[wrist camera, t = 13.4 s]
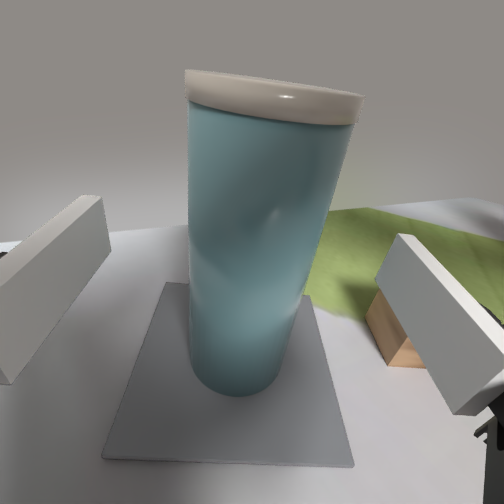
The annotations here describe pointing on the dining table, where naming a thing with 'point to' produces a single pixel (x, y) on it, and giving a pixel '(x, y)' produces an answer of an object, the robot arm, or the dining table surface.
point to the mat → (228, 402)
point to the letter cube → (391, 335)
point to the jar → (256, 216)
